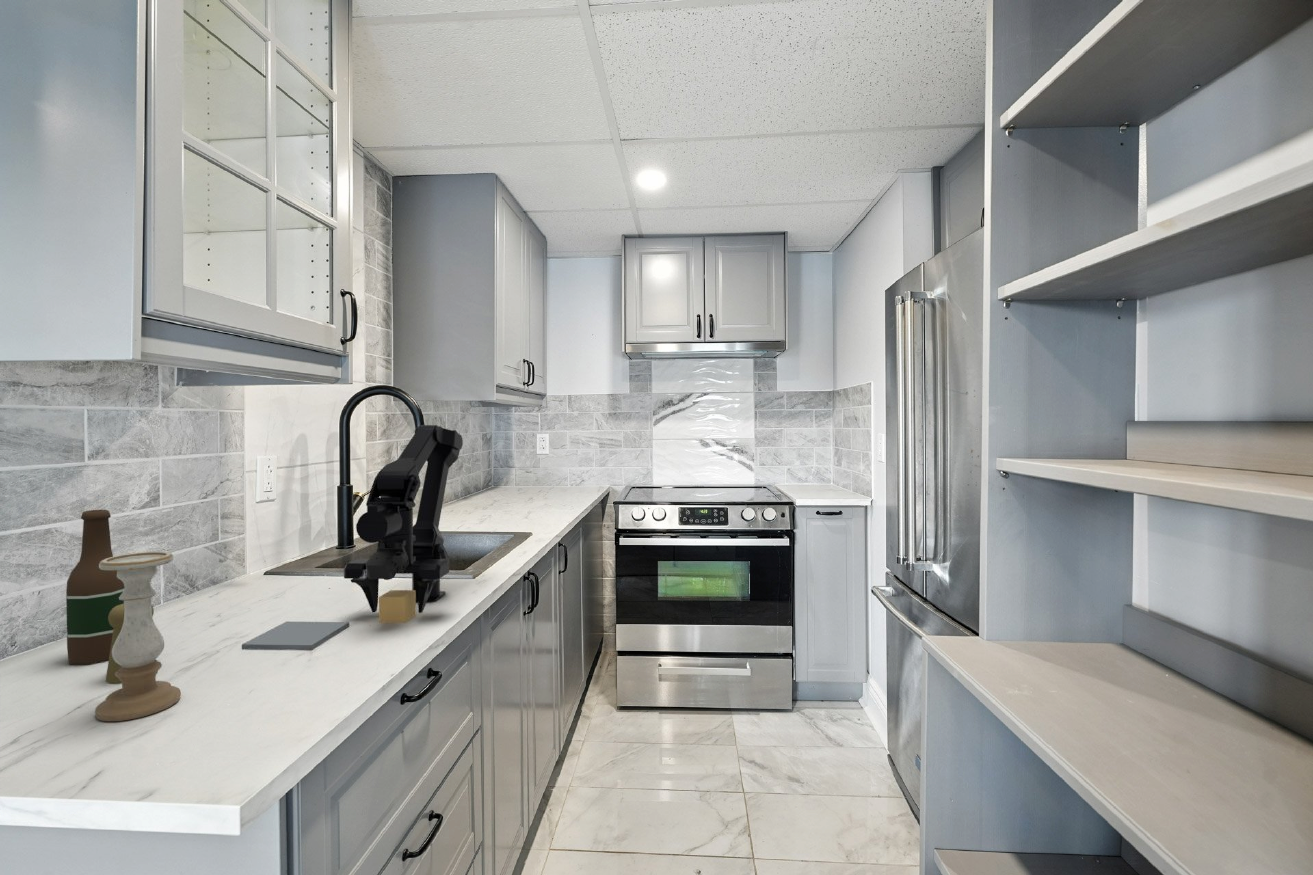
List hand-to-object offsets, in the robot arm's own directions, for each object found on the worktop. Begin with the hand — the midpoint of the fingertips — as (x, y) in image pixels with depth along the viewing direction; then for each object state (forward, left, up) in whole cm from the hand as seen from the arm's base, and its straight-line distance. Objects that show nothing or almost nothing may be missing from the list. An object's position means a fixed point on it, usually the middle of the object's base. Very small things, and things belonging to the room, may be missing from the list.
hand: (397, 611), depth 119 cm
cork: (+28, -28, -1) cm, 40 cm away
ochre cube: (0, 0, -1) cm, 1 cm away
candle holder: (+38, -18, -1) cm, 42 cm away
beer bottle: (+21, -40, -1) cm, 45 cm away
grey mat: (+11, -13, -1) cm, 17 cm away
